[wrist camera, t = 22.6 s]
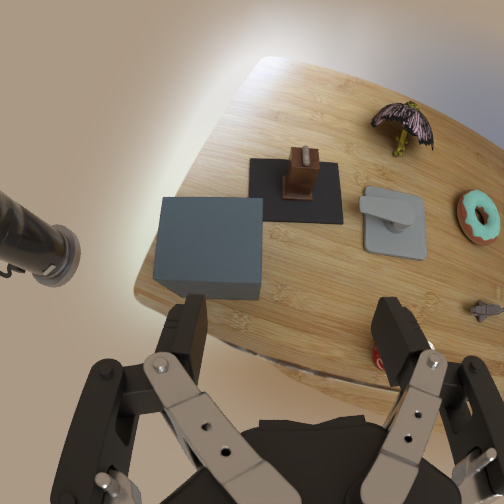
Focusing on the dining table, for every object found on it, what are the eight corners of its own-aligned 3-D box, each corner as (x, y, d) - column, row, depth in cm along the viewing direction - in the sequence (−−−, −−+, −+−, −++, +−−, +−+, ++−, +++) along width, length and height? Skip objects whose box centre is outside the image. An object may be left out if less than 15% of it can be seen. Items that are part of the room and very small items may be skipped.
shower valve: (359, 169, 48) (434, 187, 47) (350, 184, 53) (421, 199, 52) (359, 239, 44) (440, 253, 44) (348, 249, 49) (424, 261, 49)
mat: (248, 220, 51) (248, 219, 50) (250, 159, 54) (250, 158, 53) (342, 224, 51) (343, 223, 50) (336, 164, 54) (337, 162, 53)
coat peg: (282, 200, 51) (289, 165, 41) (281, 177, 52) (288, 140, 42) (311, 201, 51) (325, 168, 41) (310, 179, 52) (322, 142, 42)
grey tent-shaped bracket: (181, 297, 47) (152, 279, 33) (186, 236, 50) (162, 196, 36) (258, 300, 47) (261, 283, 33) (259, 238, 50) (263, 197, 35)
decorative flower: (451, 112, 47) (435, 128, 40) (435, 156, 56) (415, 182, 49) (391, 83, 54) (362, 94, 47) (381, 127, 63) (351, 147, 56)
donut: (445, 199, 52) (455, 190, 48) (478, 190, 53) (488, 182, 49) (467, 254, 49) (478, 248, 45) (499, 240, 50) (510, 234, 46)
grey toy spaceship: (495, 301, 48) (513, 297, 43) (495, 322, 46) (513, 319, 42) (463, 299, 46) (482, 294, 41) (463, 323, 45) (483, 320, 40)
